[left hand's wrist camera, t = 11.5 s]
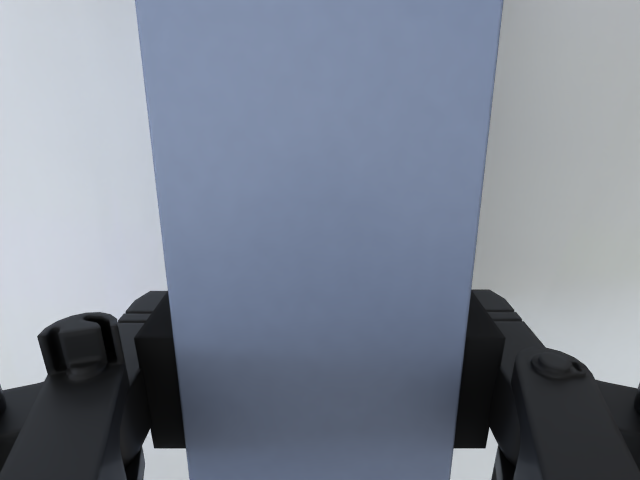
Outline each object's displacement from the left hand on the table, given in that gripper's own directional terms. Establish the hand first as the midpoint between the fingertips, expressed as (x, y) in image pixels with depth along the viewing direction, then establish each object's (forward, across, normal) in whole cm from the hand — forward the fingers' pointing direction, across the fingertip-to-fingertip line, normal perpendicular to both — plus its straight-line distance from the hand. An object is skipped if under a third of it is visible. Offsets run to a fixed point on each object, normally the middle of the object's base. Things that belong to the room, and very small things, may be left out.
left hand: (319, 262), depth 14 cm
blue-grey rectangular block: (+4, 0, -4) cm, 6 cm away
